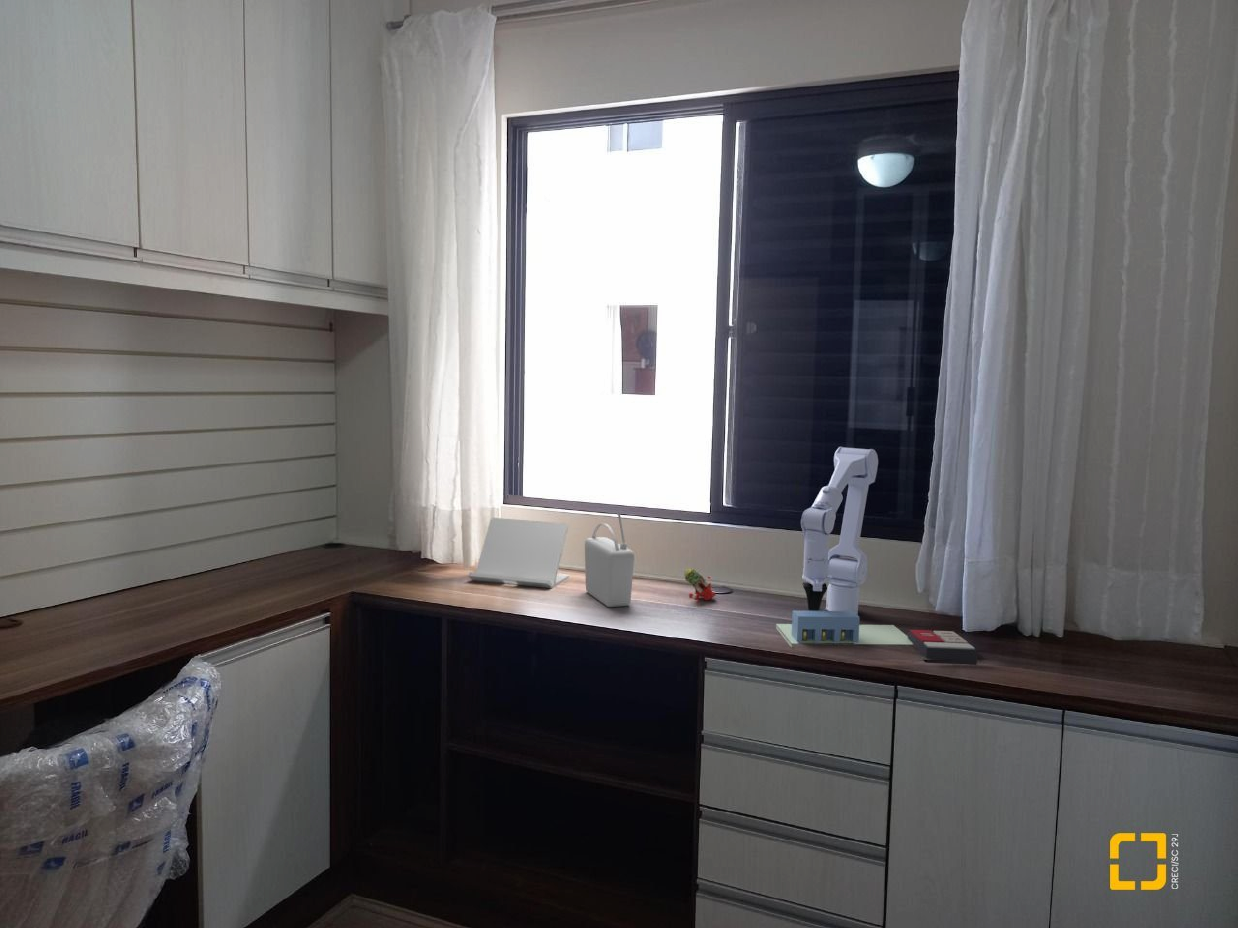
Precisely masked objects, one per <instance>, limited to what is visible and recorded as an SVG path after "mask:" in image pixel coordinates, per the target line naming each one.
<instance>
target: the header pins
mask: <svg viewBox="0 0 1238 928" xmlns="http://www.w3.org/2000/svg"><path fill="white" fill-rule="evenodd" d="M802 641H807V629H803V632H802ZM821 641H826V630H825V629H822V637H821ZM841 641H845V630H841ZM803 644H804V645H805V644H806V645H855V644H854V643H803ZM803 644H802V645H803Z"/></svg>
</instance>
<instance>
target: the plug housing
mask: <svg viewBox="0 0 1238 928" xmlns="http://www.w3.org/2000/svg"><path fill="white" fill-rule="evenodd" d="M791 615H792V616H791V617H792V618H791V619H792V620H791V624H792V636H793V638H794V639H795V640H796V641H797V642H802V632H803V629H807V639H813V640H814V642H821V637H822V629H825V630H826V639H832V640H833V642H840V641H841V630H845V639H850V640H851V641H852V642H858V639H859V625H860V622H861V621H860V616H859V615H857V614H856V613H854V612H853V611H828V610H819V611H809V610H795V609H793V610H792V614H791Z"/></svg>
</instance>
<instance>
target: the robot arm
mask: <svg viewBox="0 0 1238 928" xmlns="http://www.w3.org/2000/svg"><path fill="white" fill-rule="evenodd" d="M878 457H879V456H878V453H877V452H876V450H875V449H874V448H869V449H866V448H855V447H844V446H838V448H837V449H836V450H835V452H834V456H833V466H834V471H833V473H832V475H831V478H830V480H829V483H828V484H827V485H826V486H823V487H822V488H821V489H820V491H819V493H818V494H817V496H816V498H815V500H814V502H813V503H812V505H811V506H810V507H809V508H807V509H805V510H804V511H803V512H802V514H801V519H800V527H801V530H802V538H803V539H804V541H803V542H804V546H803V547H804V549H803V568H802V577H801V579H802V580H803V581H805V582H802V587H803V590H804V591H805V595H806V601H807V602H806V603H807V609H808V610H807V611H820V609H821V604H822V601H823V598H824V595H825V593H826V600H825V601H826V602H825V603H826V604H825V610H826V611H853V612H854V613H856V614H857V615H858V614H859V613H858V609H859V595H860V586H861V585H863V584H864V582H866V580H867V575H868V556H867V555H866V554H865V552H863V550H862V549H860V547H859V544H860V539H861V533H862V528H863V527H862V526H863V522H864V521H863V520H864V516H865V515H864V514H865V510H866V509H865V508H866V504H867V496H868V492H869V486H870V485H871V484H873V483H875V482H876V477H877V473H878V465H879V458H878ZM847 485H848V488H847V494H846V495H847V496H846V500H845V505H844V513H843V517H842V524H841V530H840V536H839V541H838V542H839V543H838V544H837V545H835V546H833V547H832V548H831V549H829V548H830V546H829V545H830V534H831V533H832V532H833V529H834V528H835V527H834V525H835V520H836V517H837V516H836V513H837V511H838V509H839V507H840V505H841V503H842V501H843V499H844V498H843V494H842V492H844V489H845V488H846V486H847ZM851 558H852V559H851ZM827 583H828V584H827ZM827 585H828V586H827ZM858 616H859V615H858Z"/></svg>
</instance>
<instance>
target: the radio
mask: <svg viewBox="0 0 1238 928" xmlns="http://www.w3.org/2000/svg"><path fill="white" fill-rule="evenodd" d="M616 514H617V517H618V518H617V519H618V523H619V529H620V535H621V540H622V541H621V542H620V543H618V539H617V536H616V533H615V532H614V530H613V528H612V526H610V525H609V524H608V523H603V522H602V523H599V524H597V525H596V527H595V529H593V533H592V537H588V538H586V539H585V541H584V564H585V565H584V567H585V568H584V570H585V571H584V572H585V574H584V575H585V590H586V592H587V593H588V594H589V595H591V596H592V597H593V598H595V599H596V600H598V601H599V602H600V603H602V604H603V605H605V606H606V607H608V608H615V607H616V608H617V607H618V608H619V607H628V606H630V604H631V602H632V601H631V599H632V591H633V590H632V589H633V575H634V565H635V553H634V551H633V550H632V549H630V548H628V543H627V542H626V541H625V535H624V529H623V523H622V518H621V517H622V516H621V511H620V510H618V511H616ZM602 525H604V526H605V527H606V528H607V529H608V531H609V532H610V535H611V537H612V539H613V540H612V539H611V538H608V537H607V536H606V537H605V536H599V537H596V535H597V533H598V531H599V528H600V527H602Z"/></svg>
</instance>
